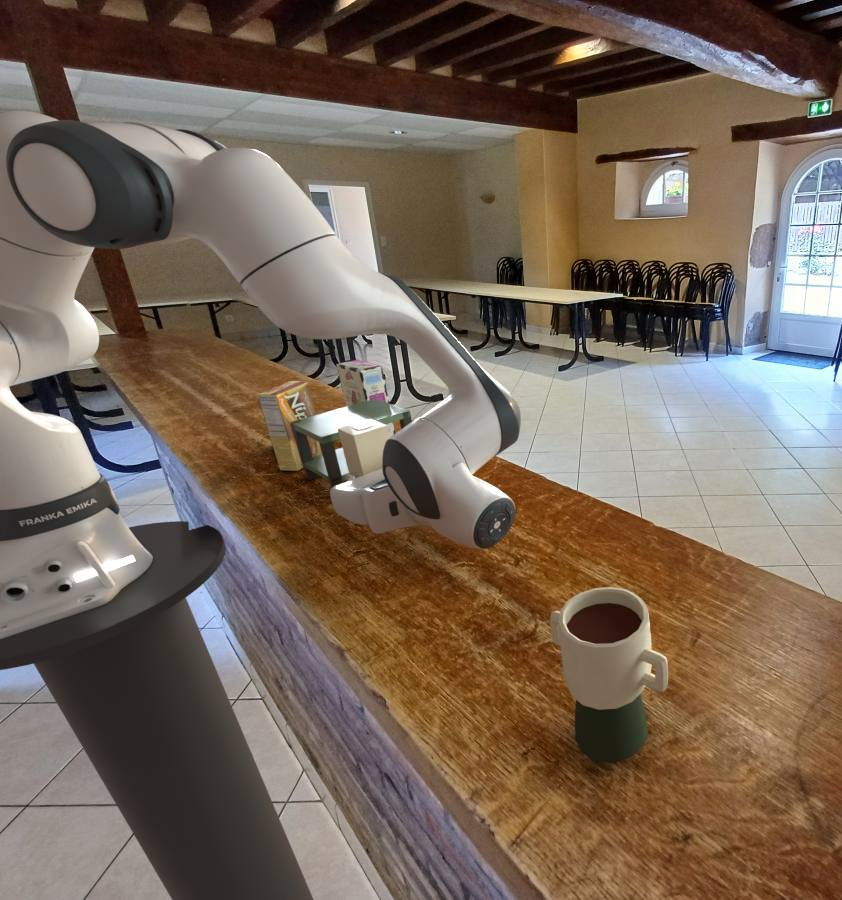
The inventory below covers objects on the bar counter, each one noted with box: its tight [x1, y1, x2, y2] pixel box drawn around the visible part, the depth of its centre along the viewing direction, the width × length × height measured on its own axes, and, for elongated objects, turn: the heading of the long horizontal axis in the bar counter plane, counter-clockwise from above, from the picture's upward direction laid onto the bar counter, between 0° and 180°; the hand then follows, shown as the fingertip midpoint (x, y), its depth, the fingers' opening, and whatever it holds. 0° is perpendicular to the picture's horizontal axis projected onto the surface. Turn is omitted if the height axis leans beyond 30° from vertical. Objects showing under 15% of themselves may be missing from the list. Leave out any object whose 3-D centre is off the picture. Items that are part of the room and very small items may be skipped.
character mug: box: [549, 586, 669, 764], centre depth 45 cm, size 11×7×13 cm, turn 56°
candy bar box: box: [335, 359, 397, 437], centre depth 116 cm, size 11×5×16 cm, turn 48°
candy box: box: [257, 380, 322, 472], centre depth 106 cm, size 9×4×15 cm, turn 171°
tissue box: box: [338, 419, 390, 477], centre depth 89 cm, size 6×6×13 cm
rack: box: [290, 399, 413, 489], centre depth 101 cm, size 16×13×11 cm
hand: (379, 466), depth 87 cm, fingers open, 8 cm apart
